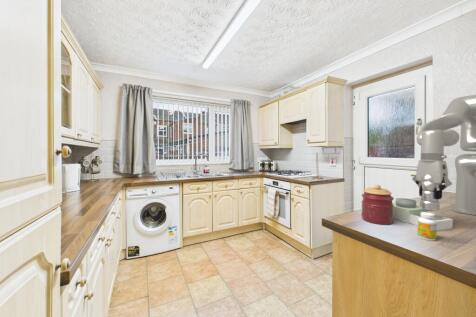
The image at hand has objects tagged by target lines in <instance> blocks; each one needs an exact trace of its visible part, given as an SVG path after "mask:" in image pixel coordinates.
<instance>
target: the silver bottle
mask: <svg viewBox="0 0 476 317" xmlns="http://www.w3.org/2000/svg"><path fill="white" fill-rule="evenodd" d="M433 182H434V181H433V178H432V177H431V176H429V175H427V174H426V175H423V176H422V177H421V184H422V196H420V202H419V206H420V207H421V209H423V210H426V211H428V212H429V213H432V212H438V211H439V210H440V207H441V206H440V202H439V200H440V199H435V198H434V196H435V190H436V186H435V183H433Z"/></svg>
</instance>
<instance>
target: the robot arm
mask: <svg viewBox="0 0 476 317" xmlns="http://www.w3.org/2000/svg"><path fill="white" fill-rule="evenodd" d="M459 126H460V134H459V133H458V132H457V131H456V130H453V129H454V128H457V127H459ZM458 142H459V147H460V149H461V150H462V151H463V152H475V153H463V154H460V155H458V156H456V157H455V158H454V166H455V173H456V178H455V179H456V180H455V198H454V200H455V203H454V204H455V205H454V206H451V207H450V209H451V211H454V212H457V213H460V214H466V215H474V216H476V94H472V95H471V94H470V95H465V96H460V97H456V98H454V99H452V100H451V101H450V103H449V104H448V105H447V107H446V109H445V110H444V111H443V113H442V115H440V116H437V117H436V118H434V119H431V120H430V121H428V122H426V123H425V124H424V125H423V126H422V127H421V128H420V130H419V132H418V133H417V136H416V143H417V144H418V145H419V146H420V160H418V163H417V166H416V173H415V175H414V176H412V178H411V180H412V181H413V182H414V183H415V184H416V185H417V187H418V188H419V189H418V196H420V197H422V184H421V177H422V176H423V175H426V174H427V175H429V176H431V177H432V178H433V181H434V182H433V183H435V186H436V190H435V196H434V198H435V199H438V200H441V199H442V198H443V191H444V190H445V189H447V188H448V187H450V186H452V185H453V183H452V181H451V180H450V179H449V171H448V170H449V169H448V166H447V165H448V164H447V162H446V160H444V159H447V158H448V156H447V155H446V154H445V153H444V152H445V147H452V146H455V145H456V144H458Z"/></svg>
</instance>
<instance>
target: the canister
mask: <svg viewBox="0 0 476 317" xmlns="http://www.w3.org/2000/svg"><path fill="white" fill-rule="evenodd" d="M363 192H364V193H362V194H361V197H362V201H361V213H360V216H361V218H362V220H363V221H366V222H368V223H371V224H377V225H387V226H388V225H391V224H393V221H394V218H393V206H394V205H393V204H392V203H393V200H394V197H393V196H392V194H393V192H391V191H389V190H388V189H386V188H381V185H380V184H375V185H374V187H367V188H366V189H364V190H363Z"/></svg>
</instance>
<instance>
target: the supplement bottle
mask: <svg viewBox="0 0 476 317" xmlns="http://www.w3.org/2000/svg"><path fill="white" fill-rule="evenodd" d="M435 215H436V214H434V213H432V212H428V213H427V212H421V218H419V219H418V226H417V237H418V238H419V239H422V240H425V241H430V242H432V241H433V242H434V241H436V239H437V231H436V228H437V222H436V221H435V220H434V218H435Z"/></svg>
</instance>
